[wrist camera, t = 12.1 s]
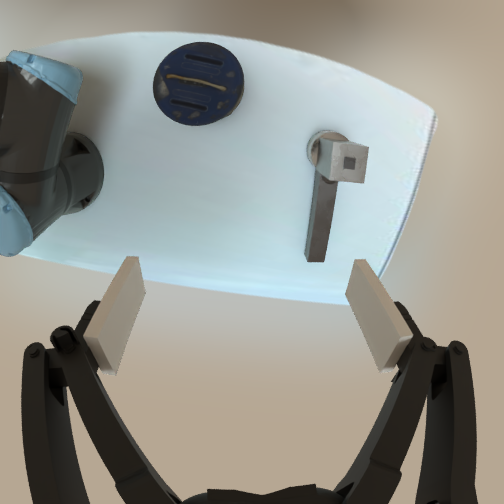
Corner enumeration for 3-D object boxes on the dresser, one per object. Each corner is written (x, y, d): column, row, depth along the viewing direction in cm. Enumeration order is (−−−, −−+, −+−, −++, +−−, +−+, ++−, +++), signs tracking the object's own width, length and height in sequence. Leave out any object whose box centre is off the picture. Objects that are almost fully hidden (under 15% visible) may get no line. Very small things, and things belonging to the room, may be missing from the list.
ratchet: (294, 254, 53) (302, 275, 47) (308, 128, 41) (320, 133, 35) (329, 254, 53) (340, 275, 47) (348, 133, 42) (366, 139, 35)
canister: (222, 129, 41) (210, 146, 25) (171, 102, 38) (129, 104, 23) (254, 81, 37) (265, 65, 22) (202, 53, 34) (180, 23, 19)
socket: (315, 169, 41) (329, 180, 35) (318, 137, 39) (333, 142, 33) (346, 172, 42) (364, 183, 35) (349, 141, 39) (369, 147, 33)
